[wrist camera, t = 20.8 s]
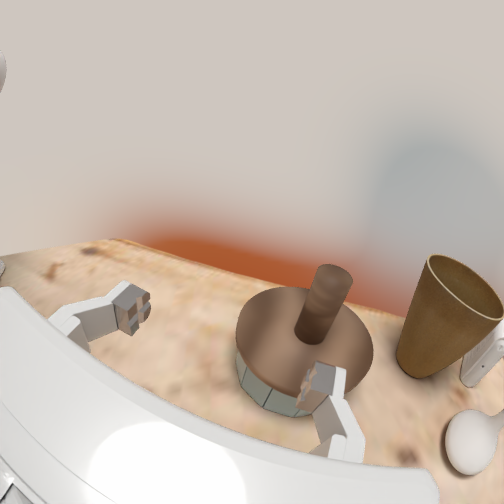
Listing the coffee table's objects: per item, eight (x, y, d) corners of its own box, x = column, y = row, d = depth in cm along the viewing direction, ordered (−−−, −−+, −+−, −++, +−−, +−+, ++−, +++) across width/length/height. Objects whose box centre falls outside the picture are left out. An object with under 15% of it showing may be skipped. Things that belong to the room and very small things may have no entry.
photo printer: (472, 391, 30) (518, 342, 23) (457, 381, 32) (502, 329, 26) (477, 358, 37) (513, 311, 30) (463, 348, 39) (498, 300, 32)
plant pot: (450, 404, 28) (518, 331, 20) (374, 385, 31) (440, 298, 23) (441, 341, 40) (487, 273, 32) (377, 319, 44) (419, 241, 35)
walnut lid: (221, 383, 23) (235, 316, 18) (247, 282, 37) (261, 220, 32) (377, 405, 22) (429, 349, 18) (358, 306, 36) (385, 252, 31)
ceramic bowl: (219, 392, 28) (225, 364, 25) (256, 317, 40) (265, 286, 37) (334, 428, 26) (358, 405, 22) (345, 346, 37) (362, 317, 34)
